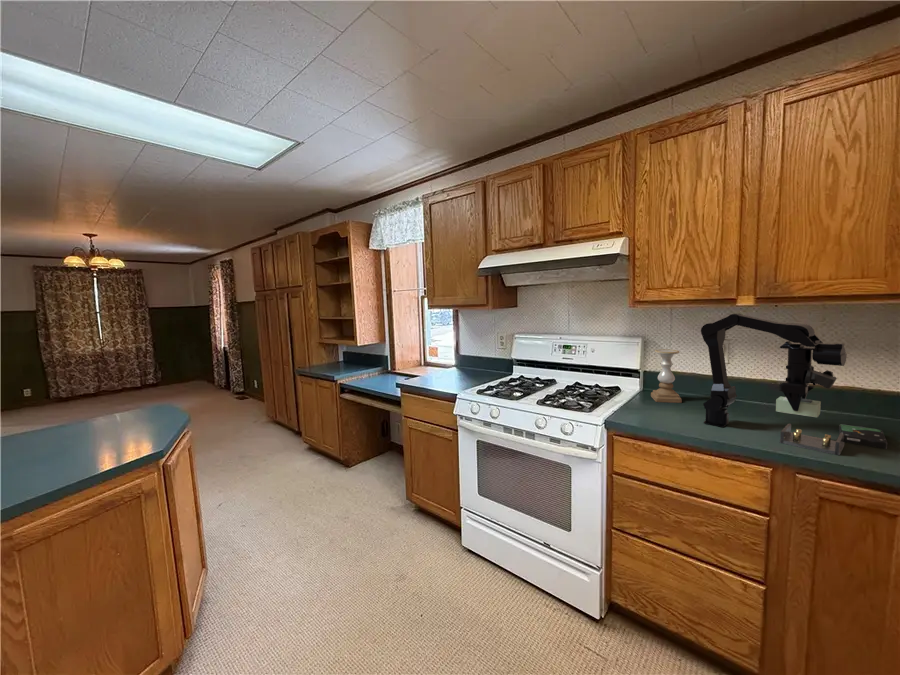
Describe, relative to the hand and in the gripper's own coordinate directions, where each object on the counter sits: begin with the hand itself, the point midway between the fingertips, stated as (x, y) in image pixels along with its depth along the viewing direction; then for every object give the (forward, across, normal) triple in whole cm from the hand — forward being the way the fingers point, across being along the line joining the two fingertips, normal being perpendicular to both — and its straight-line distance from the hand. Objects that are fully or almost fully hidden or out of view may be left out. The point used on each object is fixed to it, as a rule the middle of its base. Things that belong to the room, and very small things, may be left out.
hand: (798, 408), depth 122 cm
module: (+1, 0, 0) cm, 1 cm away
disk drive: (+13, +20, -13) cm, 26 cm away
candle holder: (+10, +24, +51) cm, 58 cm away
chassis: (+12, +2, -3) cm, 12 cm away
